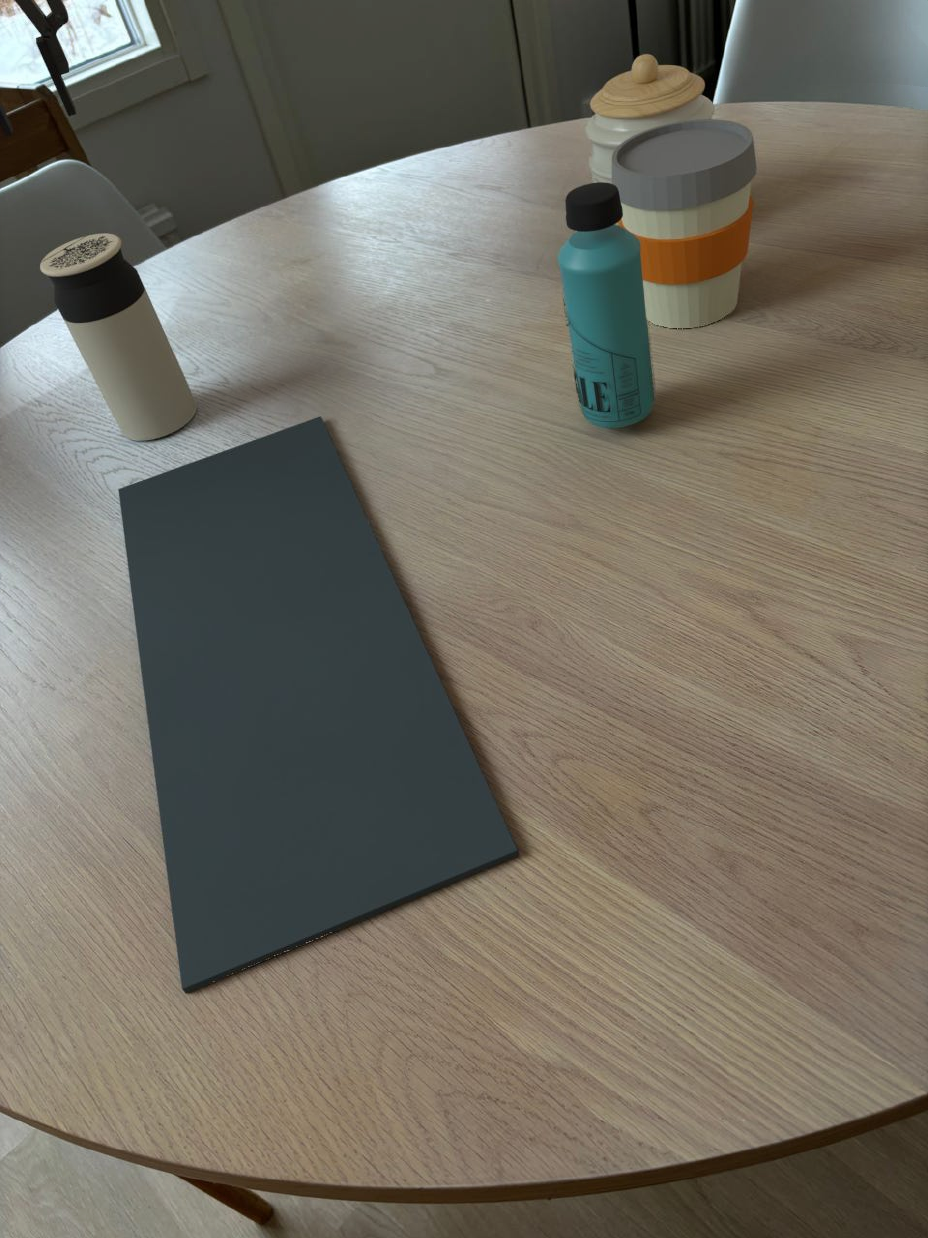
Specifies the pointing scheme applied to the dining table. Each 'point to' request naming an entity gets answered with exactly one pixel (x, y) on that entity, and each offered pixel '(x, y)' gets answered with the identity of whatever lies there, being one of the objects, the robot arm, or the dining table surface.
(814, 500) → the dining table surface
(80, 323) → the travel mug
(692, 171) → the reusable coffee cup
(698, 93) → the jar
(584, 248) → the beverage bottle
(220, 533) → the mat
